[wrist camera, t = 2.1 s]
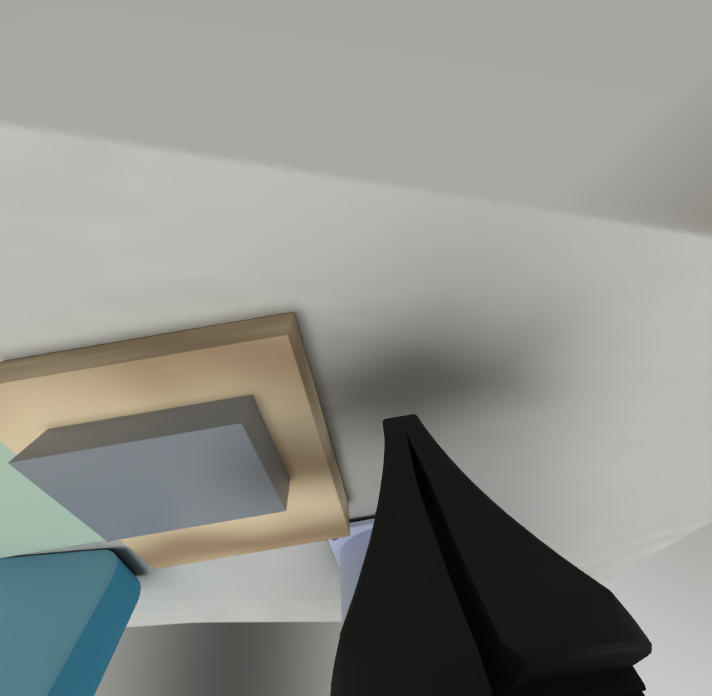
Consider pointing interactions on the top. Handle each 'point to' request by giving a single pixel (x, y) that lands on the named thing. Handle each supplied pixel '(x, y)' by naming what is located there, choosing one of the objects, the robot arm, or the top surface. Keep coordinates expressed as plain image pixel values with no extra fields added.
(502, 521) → the robot arm
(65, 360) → the oak board
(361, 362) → the top surface
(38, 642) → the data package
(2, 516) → the green mat
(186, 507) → the slate tile
